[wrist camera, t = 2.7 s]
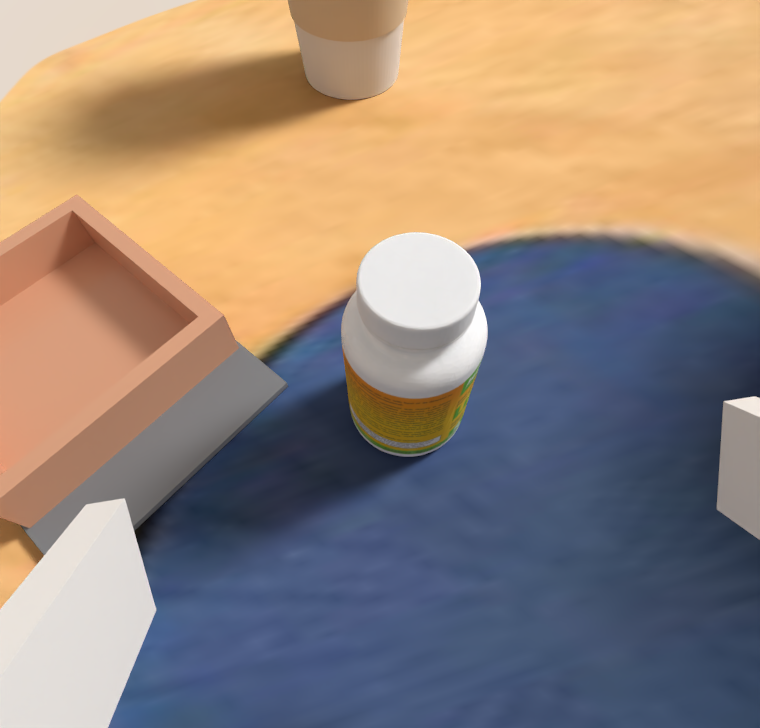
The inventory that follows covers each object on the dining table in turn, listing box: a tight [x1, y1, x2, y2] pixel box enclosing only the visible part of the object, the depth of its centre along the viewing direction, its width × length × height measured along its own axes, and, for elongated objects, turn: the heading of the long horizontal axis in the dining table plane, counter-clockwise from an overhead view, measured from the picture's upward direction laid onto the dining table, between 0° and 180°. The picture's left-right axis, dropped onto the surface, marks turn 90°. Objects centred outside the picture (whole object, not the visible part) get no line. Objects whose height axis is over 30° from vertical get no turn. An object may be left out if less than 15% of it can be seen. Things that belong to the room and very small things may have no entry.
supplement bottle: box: [341, 232, 487, 457], centre depth 21 cm, size 5×5×10 cm
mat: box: [20, 341, 288, 555], centre depth 26 cm, size 16×12×1 cm
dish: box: [0, 195, 239, 528], centre depth 25 cm, size 12×12×3 cm
